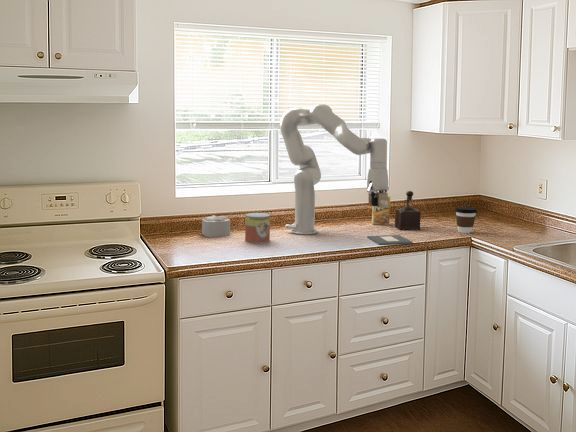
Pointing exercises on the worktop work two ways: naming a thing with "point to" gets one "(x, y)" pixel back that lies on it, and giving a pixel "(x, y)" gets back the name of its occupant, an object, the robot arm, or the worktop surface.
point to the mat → (389, 239)
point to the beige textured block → (380, 199)
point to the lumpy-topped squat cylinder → (215, 226)
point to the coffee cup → (465, 218)
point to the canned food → (257, 227)
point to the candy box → (381, 214)
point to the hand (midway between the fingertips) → (377, 204)
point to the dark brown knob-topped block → (407, 216)
